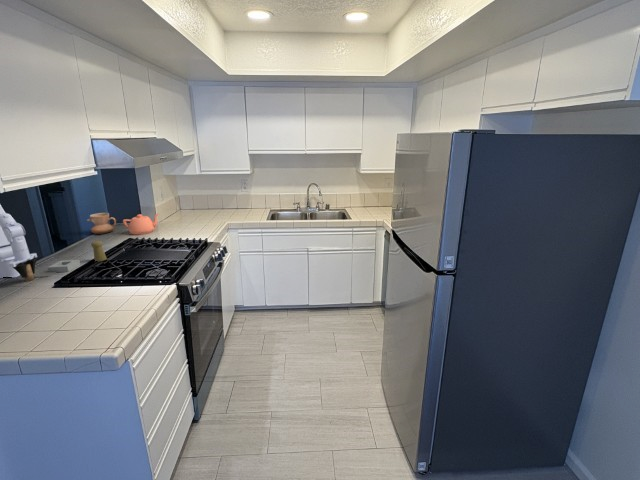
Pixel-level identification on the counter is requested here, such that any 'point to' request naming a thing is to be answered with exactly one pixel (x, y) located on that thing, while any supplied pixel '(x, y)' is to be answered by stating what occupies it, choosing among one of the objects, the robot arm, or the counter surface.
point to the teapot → (141, 224)
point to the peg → (29, 273)
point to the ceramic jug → (101, 223)
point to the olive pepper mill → (98, 251)
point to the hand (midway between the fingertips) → (28, 275)
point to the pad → (44, 274)
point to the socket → (64, 266)
